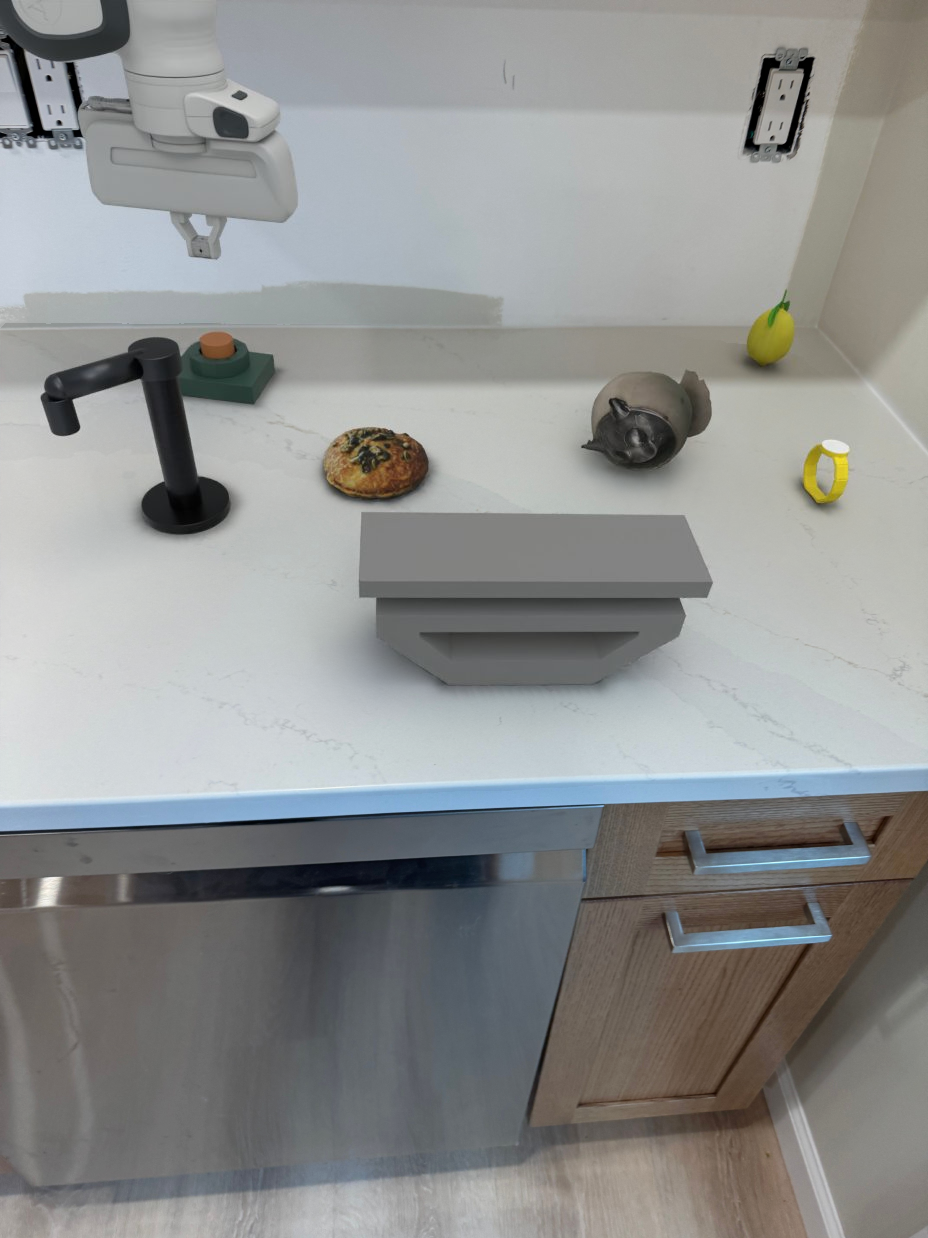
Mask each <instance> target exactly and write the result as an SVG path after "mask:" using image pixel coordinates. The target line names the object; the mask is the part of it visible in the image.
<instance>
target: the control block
mask: <svg viewBox="0 0 928 1238" xmlns="http://www.w3.org/2000/svg"><path fill="white" fill-rule="evenodd" d="M233 343H234V350H235V354H234V355H232V356H230V357H227V358H220V359H212V358H206V357H204V356H203V355H202V350H201V344H200V340H198V341H195V342H193V343H192V344H190V345H189V346H188V348H187V349H186V350H184V352H183V354H182V355H181V360H182V365H183V370H182V372H181V373H180V374H179V375H178V377H179V383H180V388H181V393H182V396H186V397H192V398H193V397H194V398H203V399H208V400H209V399H210V400H217V401H218V400H219V401H225V402H234V403H242V404H248V405H249V404H250V405H254V404H255V403H256V402H257V400H258V399H259V397H260V395H261V394H262V392H263V390H264V389H265V387H266V386H267V385H268V383H269V381H270V380H271V378H272V376H273V375H274V374H275V372H276V370H275V359H274V354H272V353H264V352H256V351H249V348H248V346H247V344H246V343H245V342H243V341H241V340H239V339H237V338H234V337H233Z"/></svg>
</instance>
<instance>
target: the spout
mask: <svg viewBox="0 0 928 1238" xmlns="http://www.w3.org/2000/svg"><path fill="white" fill-rule="evenodd" d="M181 356H182V355H181V349H180V345H179V344H178V342H177V341H175V340H173V339H171V338H168V337H162V336H153V337H144V338H141V339H138V340H136V341H134V342H132V343H130V344H129V346H128V348H127V351H126V352H123V353H119V354H116V355H112V356H109V357H106V358H103V359H99V360H95V361H92V362H89V363H85V364H82V365H78V366H75V367H71V368H68V369H63V370H61V371H57V372H54V373H51V374H49V375H48V376H46V379H45V380H44V383H43V389H44V392H43V393H42V394H41V395H40V397H39V398H40V402H41V406H42V408H43V411H44V414H45V417H46V420H47V423H48V426H49V430H50V432H51V433H52V434H53V435H55V436H56V437H68V436H69V437H70V436H72V435H75V434H77V433H78V432H79V431H80V430H81V423H80V420H79V417H78V414H77V410H76V407H75V403H74V400H76V399H79V398H83V397H86V396H90V395H92V394H96V393H99V392H102V391H105V390H109V389H112V388H115V387H118V386H122V385H125V384H129V383H131V382H135V381H138V380H140V381H141V380H144V381H151V382H158V381H165V380H169V379H172V378H175V377H177V376H178V375H179V374H180V373H181V372H182V370H183V365H182V360H181Z"/></svg>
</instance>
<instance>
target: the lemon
mask: <svg viewBox="0 0 928 1238" xmlns="http://www.w3.org/2000/svg"><path fill="white" fill-rule="evenodd" d="M787 293H788V289H787V288H786V289H784V293H783V296H782V299H781V301H780V302H779V303H777V305H775V306H774V307H772V308H770V309H768V310H766V311H764V312H763V313H761V314H760V315H759V316H758V317H757V318H756V319H755V321H754V322H753V324H752V325H751V328H750V330H749V332H748V335H747V338H746V350H747V354H748V356H749V357H750V358H751V359H752V360H754V361H756V362H757V364H758V365H759V366H761V367H764V366H766V365H767V364H773V363H776V362H778V361H780V360H782V359H783V358H784V357H785V356H786V355H787V354H788V353H789V351H790V349H791V347H792V346H793V345H792V344H793V343H794V338H795V331H796V330H795V329H796V327H795V322H794V318H793V316H792V315H791V314H790V313H789V312H788V311H789V309H790V306H791V301H790V300H787V301H786V302H785V299H786V296H787Z"/></svg>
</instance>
